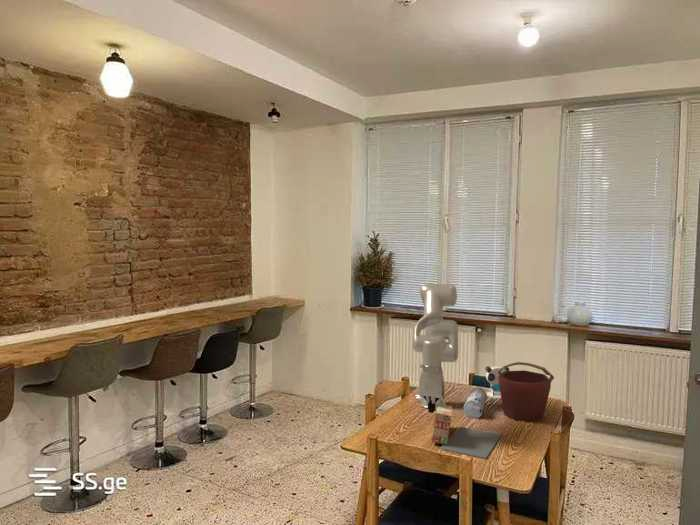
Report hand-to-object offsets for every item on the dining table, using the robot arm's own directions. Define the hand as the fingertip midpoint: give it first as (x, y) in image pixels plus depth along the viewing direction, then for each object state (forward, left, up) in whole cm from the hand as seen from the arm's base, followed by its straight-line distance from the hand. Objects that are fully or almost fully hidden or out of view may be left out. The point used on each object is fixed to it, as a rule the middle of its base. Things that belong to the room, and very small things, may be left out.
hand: (431, 411), depth 219 cm
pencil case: (+9, +37, -10) cm, 39 cm away
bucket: (+30, +41, -10) cm, 52 cm away
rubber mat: (+17, 0, -10) cm, 20 cm away
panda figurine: (+12, +67, -10) cm, 69 cm away
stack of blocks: (+4, 0, -9) cm, 10 cm away
